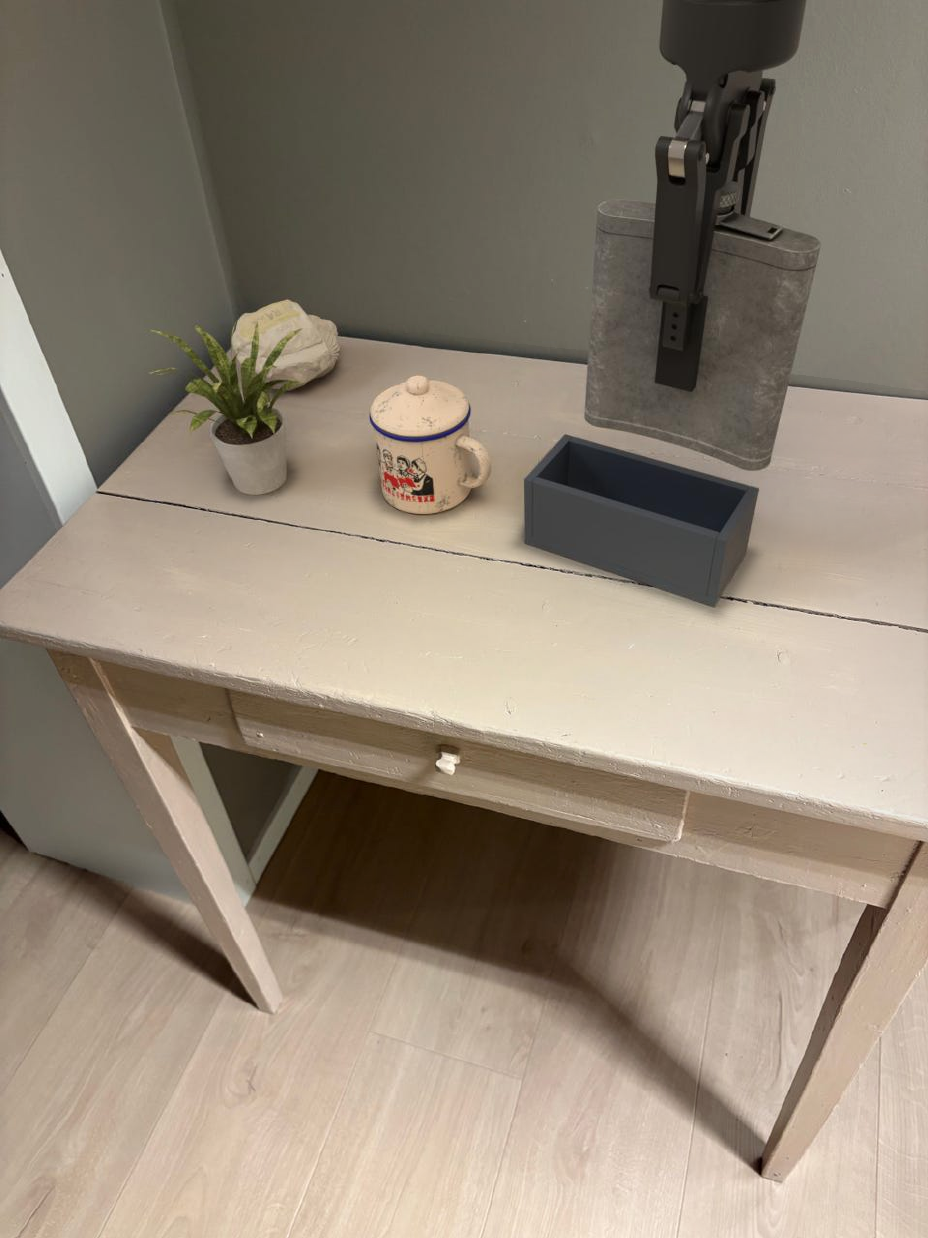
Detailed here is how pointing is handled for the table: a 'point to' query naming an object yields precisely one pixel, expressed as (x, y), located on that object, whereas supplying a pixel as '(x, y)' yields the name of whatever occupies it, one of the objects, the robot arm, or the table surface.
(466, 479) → the teacup with lid
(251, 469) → the house plant
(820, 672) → the table surface
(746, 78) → the robot arm
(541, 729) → the table surface
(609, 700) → the table surface
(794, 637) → the table surface
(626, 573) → the holder
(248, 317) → the fossil replica
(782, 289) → the flask
